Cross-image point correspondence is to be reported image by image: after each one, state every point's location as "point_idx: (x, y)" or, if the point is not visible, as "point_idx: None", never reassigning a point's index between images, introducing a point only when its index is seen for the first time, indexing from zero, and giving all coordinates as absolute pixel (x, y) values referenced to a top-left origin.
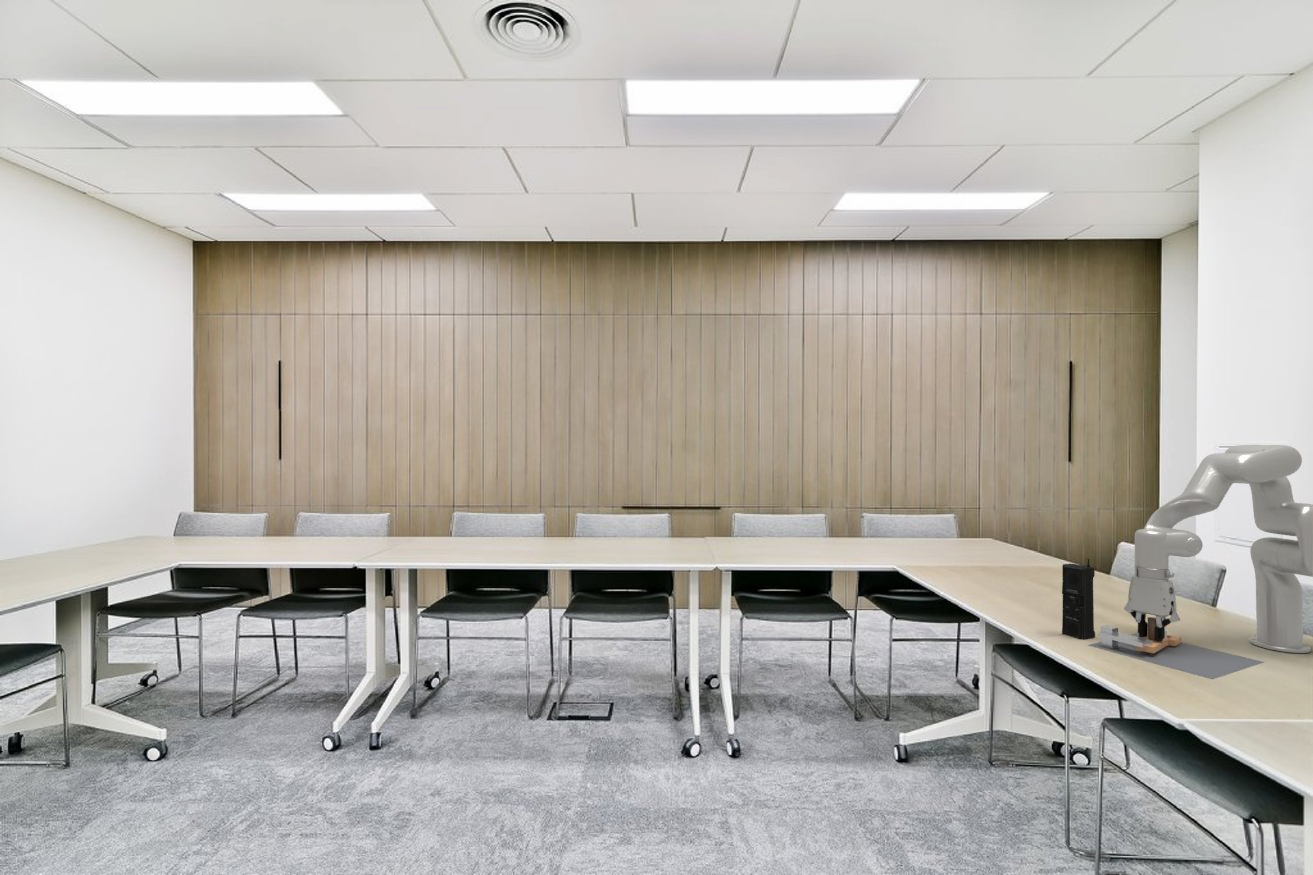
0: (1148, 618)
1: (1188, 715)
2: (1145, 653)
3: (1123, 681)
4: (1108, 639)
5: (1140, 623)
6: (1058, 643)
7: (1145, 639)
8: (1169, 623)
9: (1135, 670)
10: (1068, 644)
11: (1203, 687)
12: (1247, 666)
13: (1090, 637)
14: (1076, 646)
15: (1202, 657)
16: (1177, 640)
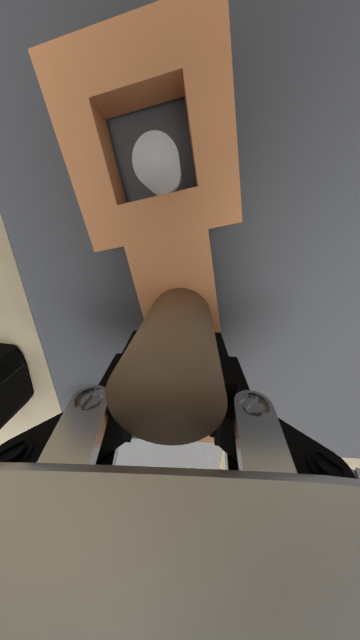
0: (134, 430)
1: None
2: None
3: None
4: None
5: (126, 441)
6: (10, 429)
7: (200, 449)
8: (308, 444)
9: (219, 467)
10: (23, 419)
11: (350, 464)
12: None
13: (12, 385)
14: (43, 419)
15: (354, 274)
16: (235, 146)
